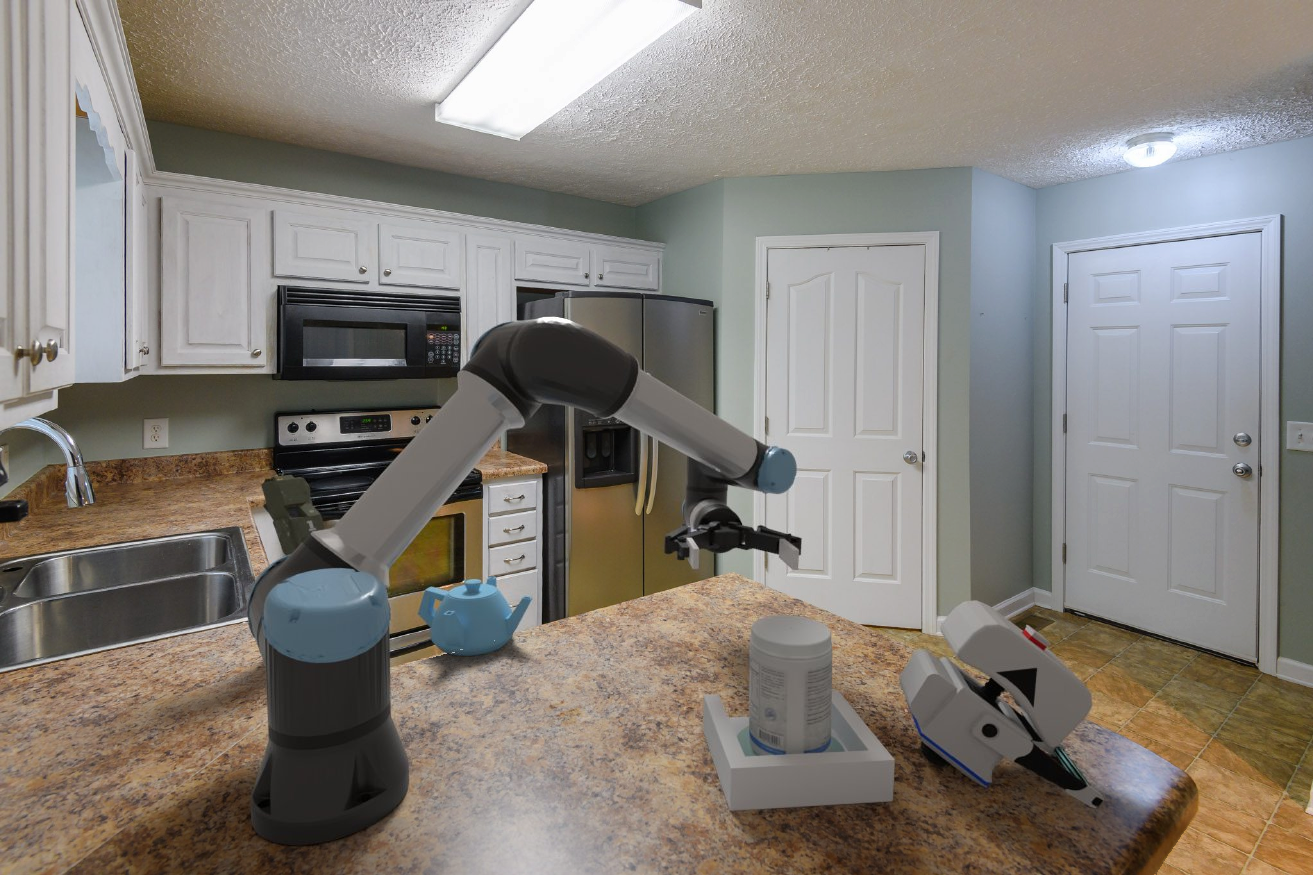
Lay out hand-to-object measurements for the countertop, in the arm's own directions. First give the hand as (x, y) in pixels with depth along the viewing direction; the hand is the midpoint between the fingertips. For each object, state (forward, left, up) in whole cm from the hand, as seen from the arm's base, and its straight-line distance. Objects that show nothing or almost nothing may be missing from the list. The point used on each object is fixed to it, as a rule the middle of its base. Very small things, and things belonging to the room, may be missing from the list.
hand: (746, 559), depth 86 cm
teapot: (-40, +27, -22) cm, 53 cm away
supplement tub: (+3, -11, -20) cm, 23 cm away
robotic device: (+26, -15, -22) cm, 37 cm away
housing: (+3, -12, -21) cm, 24 cm away
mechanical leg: (-68, +26, -22) cm, 76 cm away
